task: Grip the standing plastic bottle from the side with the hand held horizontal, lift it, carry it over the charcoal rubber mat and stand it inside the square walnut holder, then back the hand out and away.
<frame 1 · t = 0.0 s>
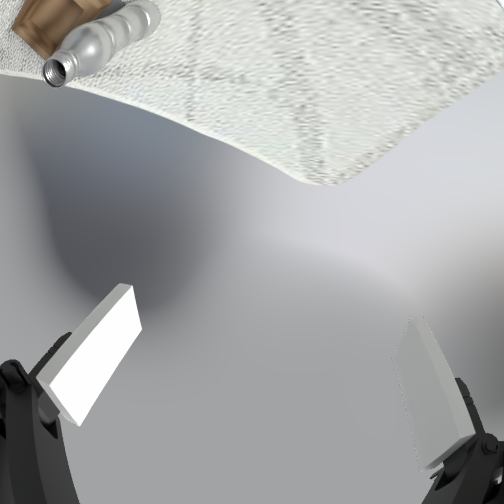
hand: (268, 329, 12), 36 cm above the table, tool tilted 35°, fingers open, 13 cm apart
wooden tray: (64, 9, 20), resting on mat
plastic bottle: (146, 16, 25), on the table
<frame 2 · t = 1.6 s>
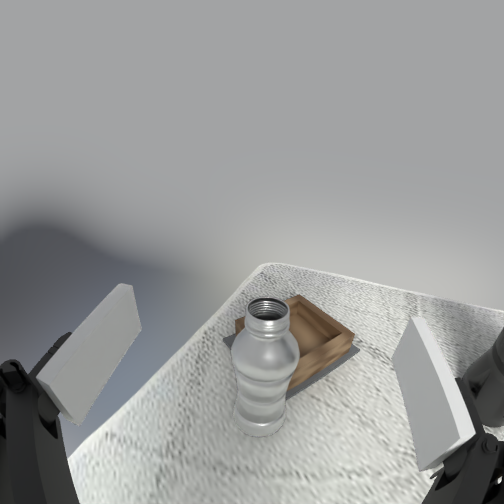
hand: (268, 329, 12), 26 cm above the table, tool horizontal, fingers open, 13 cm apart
mat: (292, 347, 45), on the table
wooden tray: (292, 346, 44), resting on mat
plastic bottle: (258, 422, 31), on the table
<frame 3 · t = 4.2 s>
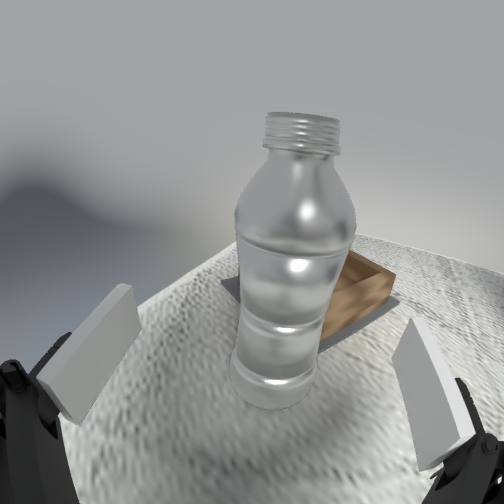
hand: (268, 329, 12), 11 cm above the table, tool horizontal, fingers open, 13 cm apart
mat: (313, 295, 34), on the table
wooden tray: (314, 292, 34), resting on mat
plastic bottle: (269, 389, 21), on the table
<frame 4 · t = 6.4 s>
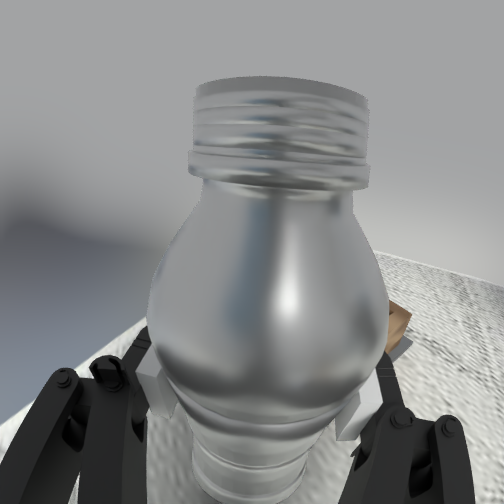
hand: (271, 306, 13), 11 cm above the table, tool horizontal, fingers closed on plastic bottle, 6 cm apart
wooden tray: (310, 335, 27), resting on mat
plastic bottle: (247, 475, 14), on the table, touching gripper
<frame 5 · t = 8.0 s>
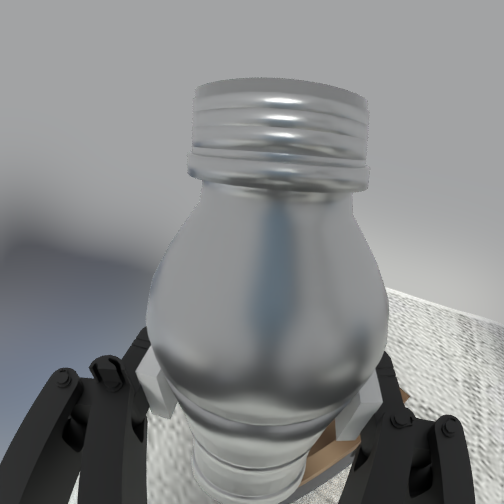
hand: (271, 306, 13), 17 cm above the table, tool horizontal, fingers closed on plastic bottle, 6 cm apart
mat: (303, 410, 24), on the table
wooden tray: (303, 408, 24), resting on mat
plastic bottle: (247, 476, 14), point 6 cm above the table, touching gripper
when the fingers open (14 cm above the table, at t = 10.0 s): plastic bottle drops 1 cm, resting on wooden tray.
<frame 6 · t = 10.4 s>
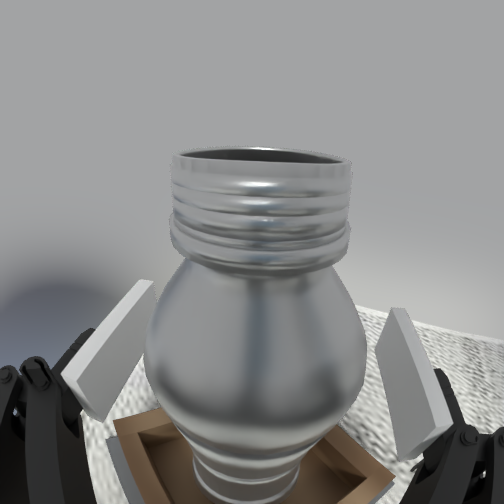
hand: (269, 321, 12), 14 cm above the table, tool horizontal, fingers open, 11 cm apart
mat: (245, 484, 15), on the table
wooden tray: (246, 483, 15), resting on mat
plastic bottle: (245, 479, 14), point 1 cm above the table, touching wooden tray
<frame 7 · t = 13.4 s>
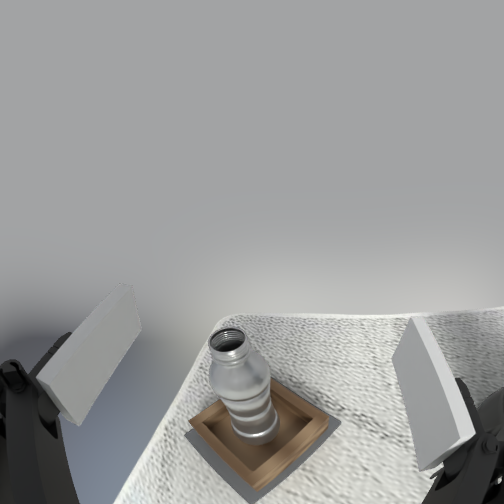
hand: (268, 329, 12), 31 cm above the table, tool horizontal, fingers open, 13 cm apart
mat: (260, 435, 34), on the table
wooden tray: (260, 434, 34), resting on mat
plastic bottle: (258, 431, 33), point 1 cm above the table, touching wooden tray
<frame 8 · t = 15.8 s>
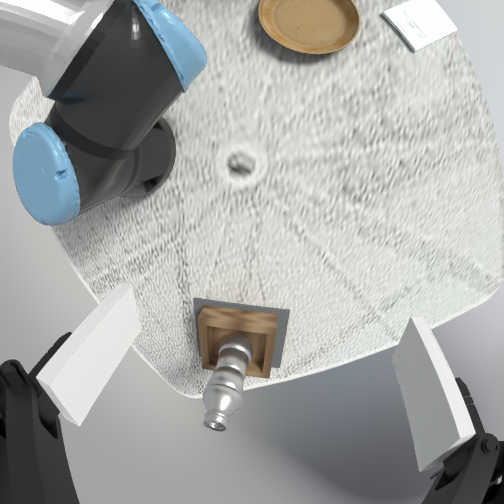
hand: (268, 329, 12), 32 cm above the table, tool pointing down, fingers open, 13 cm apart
plant saucer: (308, 19, 29), on the table
mat: (239, 335, 54), on the table
wooden tray: (239, 337, 53), resting on mat
external hard drive: (419, 22, 25), on the table
plastic bottle: (239, 340, 52), point 1 cm above the table, touching wooden tray
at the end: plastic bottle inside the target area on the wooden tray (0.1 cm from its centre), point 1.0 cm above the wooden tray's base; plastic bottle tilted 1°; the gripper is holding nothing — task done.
